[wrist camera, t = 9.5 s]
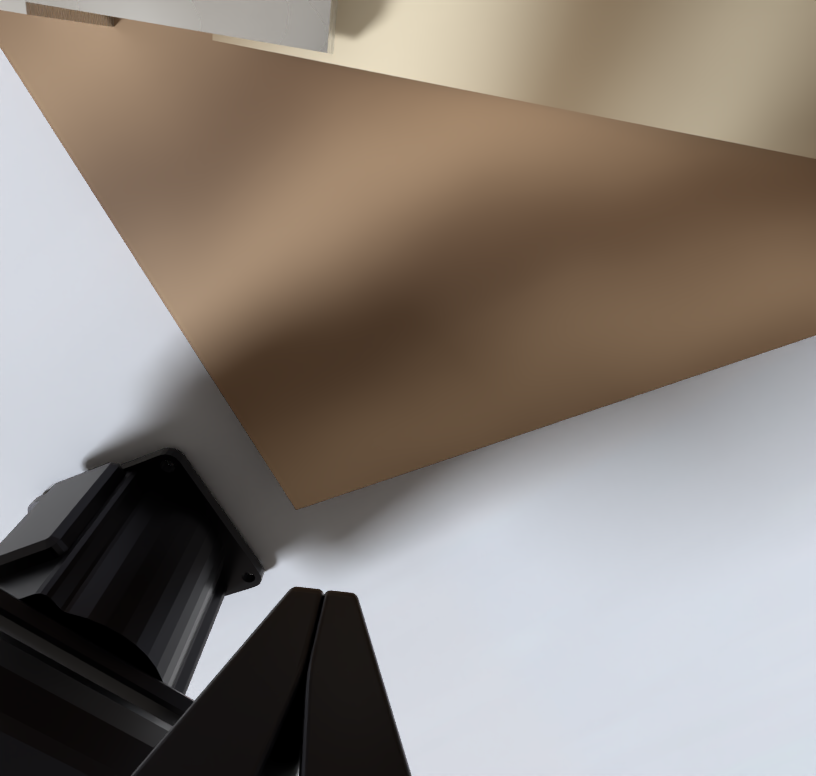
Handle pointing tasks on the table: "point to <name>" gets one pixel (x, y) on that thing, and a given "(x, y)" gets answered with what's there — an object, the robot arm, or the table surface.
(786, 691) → the table surface
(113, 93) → the board
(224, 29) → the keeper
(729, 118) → the link
